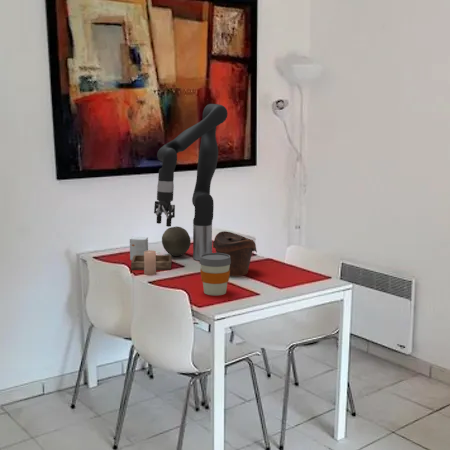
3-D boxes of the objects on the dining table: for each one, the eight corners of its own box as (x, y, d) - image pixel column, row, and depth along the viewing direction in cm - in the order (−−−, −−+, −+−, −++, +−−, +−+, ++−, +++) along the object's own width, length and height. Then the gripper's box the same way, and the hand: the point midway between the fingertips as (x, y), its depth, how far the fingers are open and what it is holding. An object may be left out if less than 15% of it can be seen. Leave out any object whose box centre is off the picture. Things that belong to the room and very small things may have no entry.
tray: (171, 262, 300) (171, 255, 300) (170, 269, 286) (170, 262, 286) (133, 262, 299) (133, 255, 299) (131, 270, 285) (131, 262, 285)
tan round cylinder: (156, 271, 283) (156, 250, 281) (155, 275, 278) (155, 253, 276) (144, 271, 282) (144, 250, 281) (143, 275, 277) (143, 253, 276)
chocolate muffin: (253, 279, 272) (253, 238, 269) (208, 276, 276) (208, 236, 273) (259, 269, 290) (259, 231, 287) (217, 267, 294) (217, 229, 291)
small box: (148, 257, 309) (148, 237, 307) (146, 260, 303) (145, 239, 301) (132, 257, 309) (132, 236, 307) (129, 260, 304) (129, 238, 302)
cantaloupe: (165, 252, 320) (164, 223, 317) (192, 253, 318) (192, 224, 315) (159, 259, 306) (159, 229, 303) (188, 260, 305) (188, 230, 302)
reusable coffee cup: (193, 293, 251) (193, 257, 249) (211, 286, 262) (211, 251, 259) (219, 298, 245) (219, 261, 242) (236, 291, 255) (236, 255, 252)
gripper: (180, 192, 287) (178, 227, 289) (164, 188, 298) (162, 222, 300) (166, 192, 282) (164, 228, 285) (150, 188, 293) (148, 222, 296)
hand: (163, 224), depth 292 cm, fingers open, 8 cm apart
